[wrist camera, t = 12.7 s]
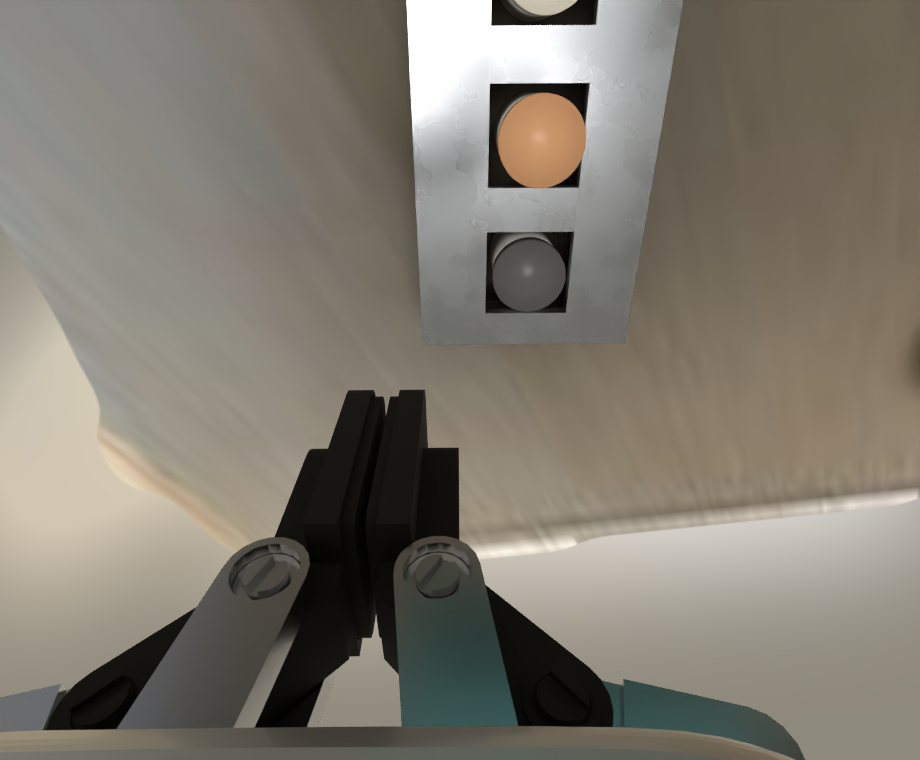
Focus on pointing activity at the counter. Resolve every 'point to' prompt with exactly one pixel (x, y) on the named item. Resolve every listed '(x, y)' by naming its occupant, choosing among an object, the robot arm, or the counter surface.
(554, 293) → the plug
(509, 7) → the plug
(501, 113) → the plug mid
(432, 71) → the housing
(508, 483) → the counter surface
